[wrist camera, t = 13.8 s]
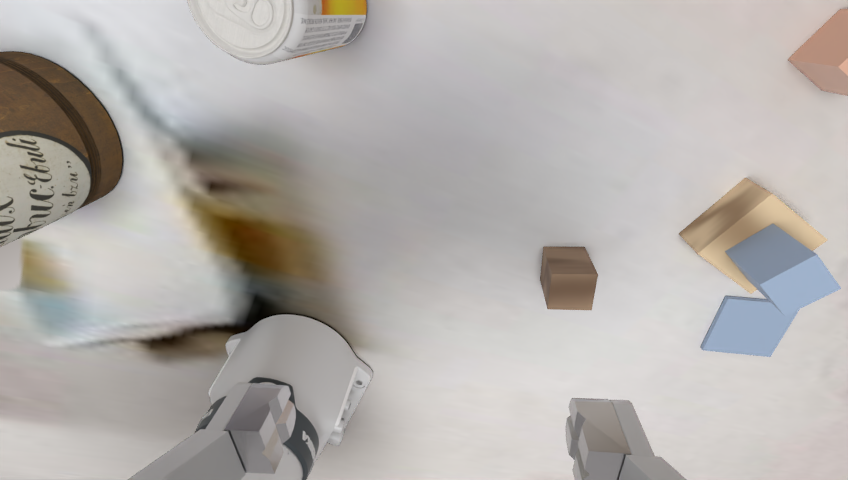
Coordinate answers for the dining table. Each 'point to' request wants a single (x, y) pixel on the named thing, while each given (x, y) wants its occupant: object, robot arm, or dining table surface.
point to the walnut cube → (568, 278)
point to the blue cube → (783, 269)
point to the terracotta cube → (826, 55)
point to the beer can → (278, 26)
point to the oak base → (744, 226)
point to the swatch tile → (747, 327)
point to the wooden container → (50, 145)
